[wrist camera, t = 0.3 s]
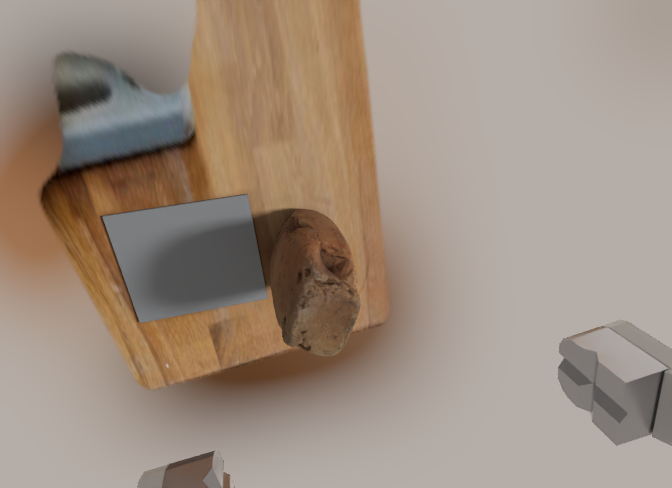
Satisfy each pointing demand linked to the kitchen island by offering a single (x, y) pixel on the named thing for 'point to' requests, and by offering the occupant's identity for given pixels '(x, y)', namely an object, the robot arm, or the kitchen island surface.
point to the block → (313, 284)
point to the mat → (188, 256)
